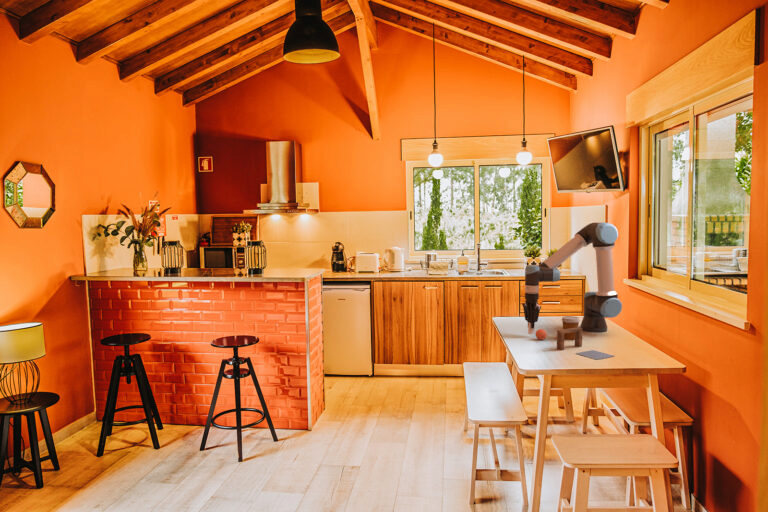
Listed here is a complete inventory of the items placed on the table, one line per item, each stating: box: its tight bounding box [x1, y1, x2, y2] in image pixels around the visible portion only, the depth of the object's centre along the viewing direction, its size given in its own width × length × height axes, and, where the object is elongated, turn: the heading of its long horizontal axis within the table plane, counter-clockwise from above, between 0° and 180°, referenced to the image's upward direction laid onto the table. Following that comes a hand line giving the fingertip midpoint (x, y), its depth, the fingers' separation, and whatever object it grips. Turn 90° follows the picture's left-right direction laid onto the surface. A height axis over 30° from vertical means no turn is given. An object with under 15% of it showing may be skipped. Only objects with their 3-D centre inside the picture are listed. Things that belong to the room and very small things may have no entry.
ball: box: [535, 328, 548, 341], centre depth 286 cm, size 6×6×6 cm
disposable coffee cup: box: [561, 315, 581, 341], centre depth 288 cm, size 10×10×12 cm
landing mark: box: [575, 349, 615, 361], centre depth 255 cm, size 13×13×1 cm
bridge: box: [556, 326, 583, 351], centre depth 268 cm, size 3×15×10 cm, turn 118°
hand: (531, 333), depth 293 cm, fingers closed
